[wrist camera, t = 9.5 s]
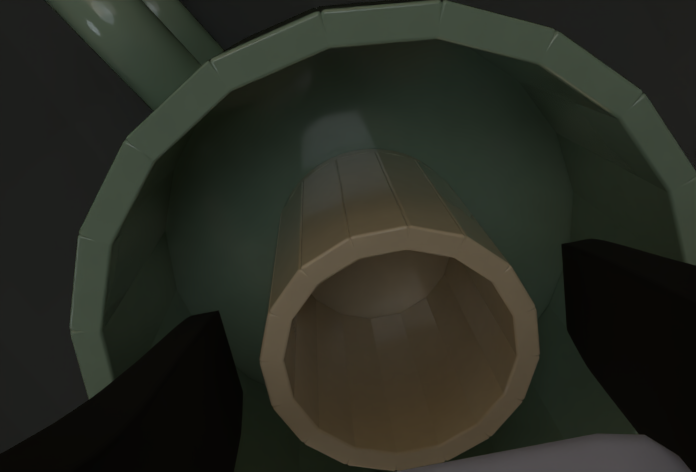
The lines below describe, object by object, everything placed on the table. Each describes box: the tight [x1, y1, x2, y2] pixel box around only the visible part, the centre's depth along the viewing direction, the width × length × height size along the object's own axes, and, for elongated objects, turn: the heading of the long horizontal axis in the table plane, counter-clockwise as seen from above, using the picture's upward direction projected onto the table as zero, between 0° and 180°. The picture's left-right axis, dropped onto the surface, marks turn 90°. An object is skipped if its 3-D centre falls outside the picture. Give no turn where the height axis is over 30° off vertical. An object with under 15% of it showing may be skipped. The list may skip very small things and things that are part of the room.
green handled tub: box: [44, 0, 696, 472], centre depth 14 cm, size 16×12×6 cm
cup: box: [259, 149, 540, 471], centre depth 14 cm, size 5×5×6 cm
